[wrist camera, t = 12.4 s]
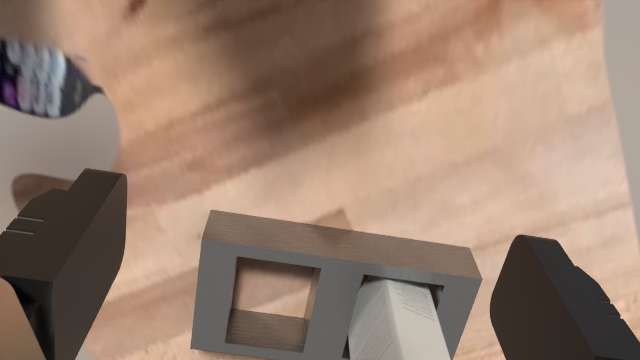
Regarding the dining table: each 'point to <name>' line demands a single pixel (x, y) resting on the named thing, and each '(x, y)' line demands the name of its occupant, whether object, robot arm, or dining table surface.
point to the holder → (318, 285)
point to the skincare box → (395, 322)
